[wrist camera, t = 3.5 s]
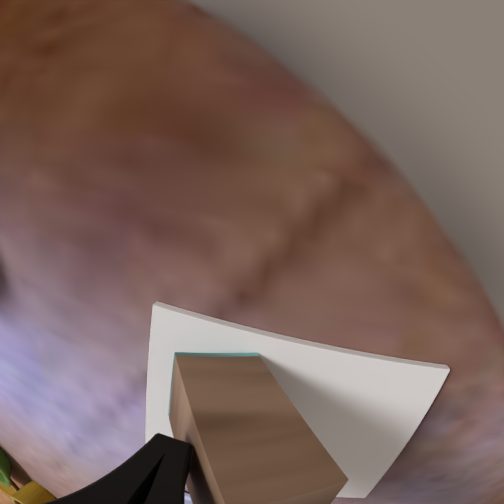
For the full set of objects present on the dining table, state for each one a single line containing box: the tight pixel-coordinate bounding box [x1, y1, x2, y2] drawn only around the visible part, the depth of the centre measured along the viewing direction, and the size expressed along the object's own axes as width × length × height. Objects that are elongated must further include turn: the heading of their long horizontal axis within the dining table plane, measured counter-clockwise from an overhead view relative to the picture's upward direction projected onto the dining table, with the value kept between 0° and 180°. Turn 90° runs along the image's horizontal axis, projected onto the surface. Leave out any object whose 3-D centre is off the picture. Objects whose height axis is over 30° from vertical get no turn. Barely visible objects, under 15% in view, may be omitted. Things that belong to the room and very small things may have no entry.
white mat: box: [146, 301, 450, 498], centre depth 16 cm, size 12×16×1 cm
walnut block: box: [168, 352, 349, 504], centre depth 11 cm, size 4×4×8 cm
